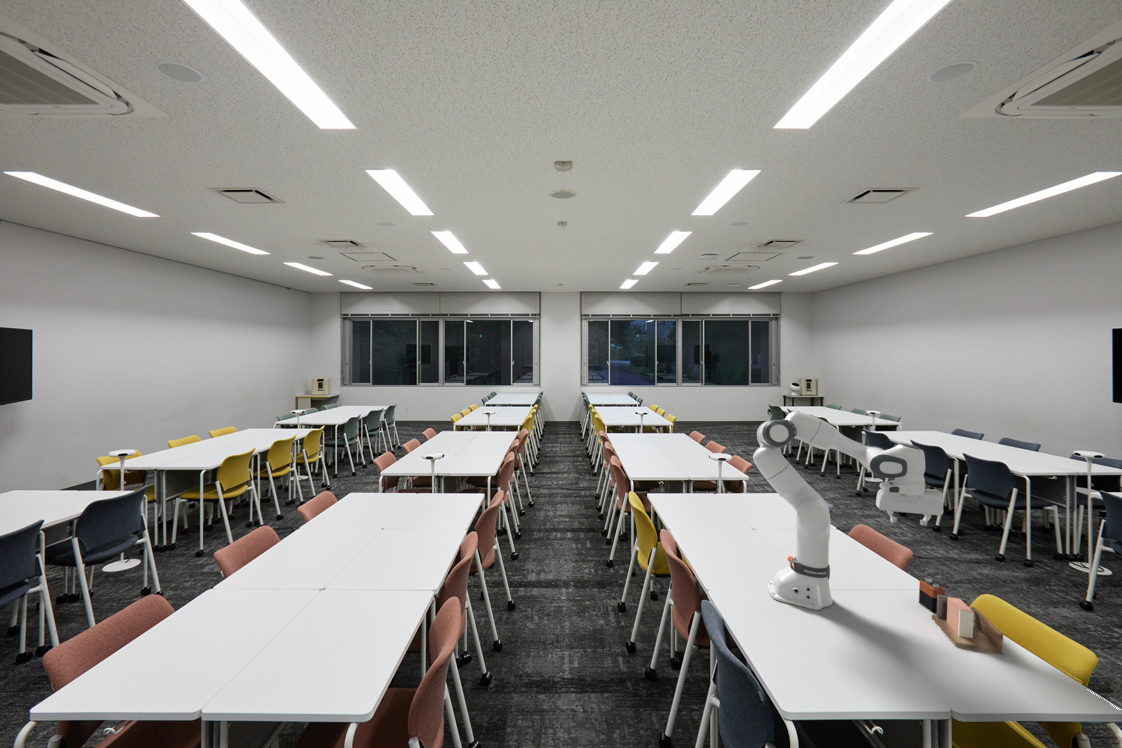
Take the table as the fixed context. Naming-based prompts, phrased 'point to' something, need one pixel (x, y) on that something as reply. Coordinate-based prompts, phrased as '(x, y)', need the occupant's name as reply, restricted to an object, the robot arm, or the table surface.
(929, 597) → the battery
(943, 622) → the shelf
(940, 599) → the grey flat square slab
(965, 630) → the rectangular block
